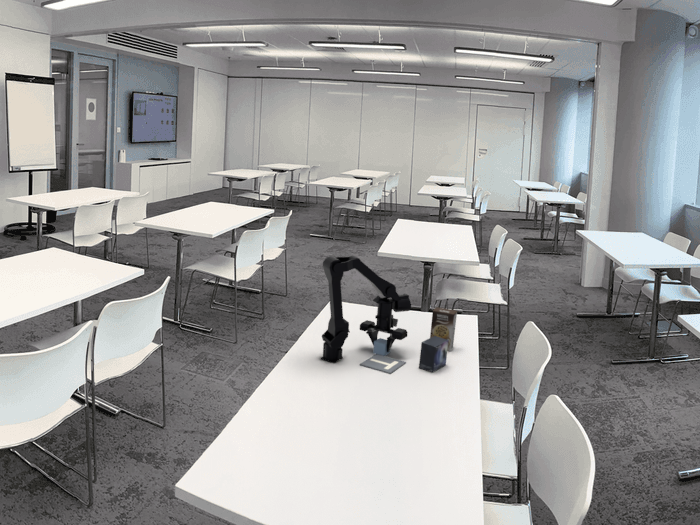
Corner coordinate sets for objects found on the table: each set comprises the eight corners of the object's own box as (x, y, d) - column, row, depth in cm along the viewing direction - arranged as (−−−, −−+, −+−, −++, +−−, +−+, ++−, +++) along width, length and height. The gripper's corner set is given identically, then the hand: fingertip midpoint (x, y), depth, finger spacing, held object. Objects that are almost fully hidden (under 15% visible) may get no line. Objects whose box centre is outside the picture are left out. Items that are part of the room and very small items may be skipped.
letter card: (359, 365, 218) (359, 363, 218) (376, 354, 229) (376, 353, 229) (390, 374, 212) (390, 372, 212) (406, 363, 223) (406, 361, 223)
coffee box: (428, 347, 240) (431, 310, 237) (432, 342, 246) (435, 306, 242) (450, 352, 237) (454, 314, 233) (453, 347, 243) (457, 310, 239)
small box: (433, 373, 215) (435, 346, 213) (418, 368, 219) (420, 341, 216) (446, 365, 223) (449, 339, 221) (432, 360, 227) (434, 335, 225)
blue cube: (373, 353, 231) (373, 341, 230) (379, 349, 235) (379, 338, 234) (384, 356, 228) (385, 344, 227) (390, 352, 233) (391, 340, 232)
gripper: (414, 312, 230) (411, 350, 234) (373, 303, 240) (371, 339, 243) (402, 319, 221) (399, 358, 224) (360, 309, 230) (357, 347, 234)
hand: (381, 350), depth 232 cm, fingers open, 5 cm apart
